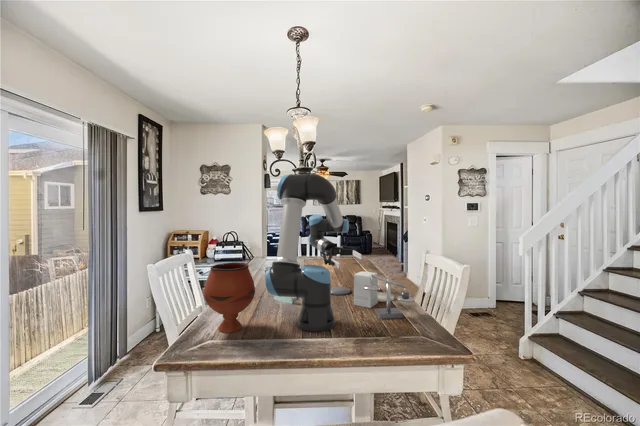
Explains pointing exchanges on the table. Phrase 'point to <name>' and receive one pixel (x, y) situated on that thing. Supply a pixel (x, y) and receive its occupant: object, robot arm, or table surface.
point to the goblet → (229, 292)
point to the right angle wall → (285, 299)
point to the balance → (389, 299)
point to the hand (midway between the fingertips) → (350, 261)
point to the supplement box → (362, 295)
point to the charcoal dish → (339, 290)
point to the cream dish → (383, 297)
